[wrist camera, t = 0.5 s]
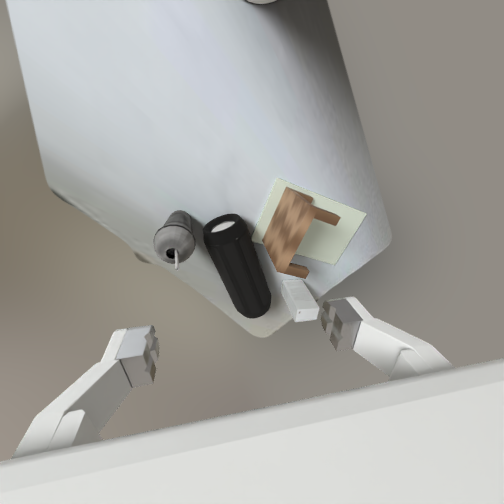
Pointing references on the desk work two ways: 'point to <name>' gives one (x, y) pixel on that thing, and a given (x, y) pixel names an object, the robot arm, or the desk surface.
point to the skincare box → (299, 300)
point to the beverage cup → (175, 239)
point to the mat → (314, 225)
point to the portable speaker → (238, 264)
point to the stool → (292, 229)
